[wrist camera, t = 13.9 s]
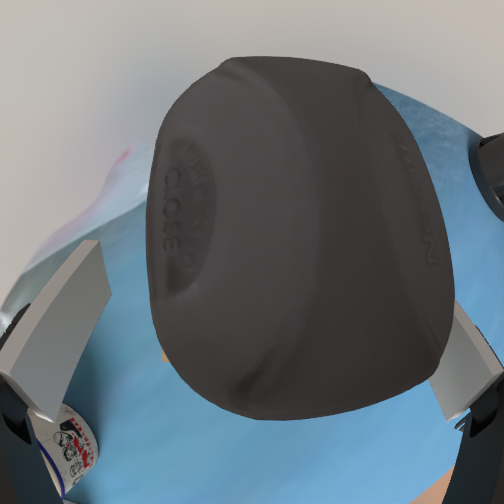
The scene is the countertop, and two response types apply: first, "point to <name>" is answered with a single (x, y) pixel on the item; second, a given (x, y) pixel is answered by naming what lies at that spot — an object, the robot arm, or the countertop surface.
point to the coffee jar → (295, 242)
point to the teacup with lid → (65, 447)
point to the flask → (68, 502)
